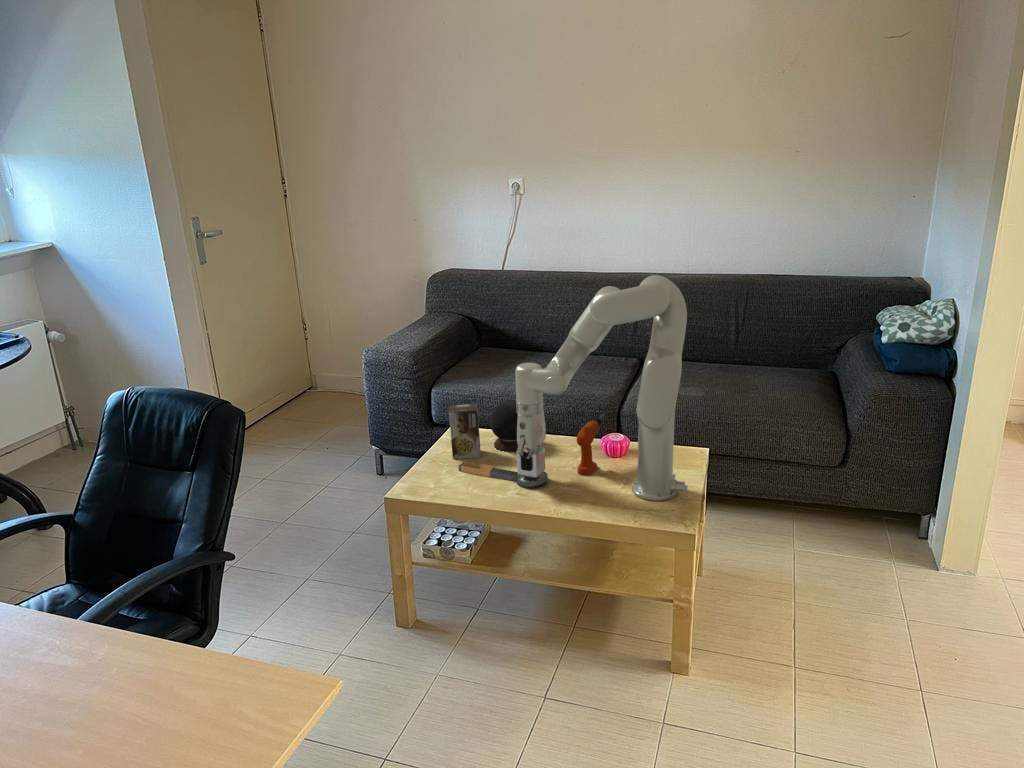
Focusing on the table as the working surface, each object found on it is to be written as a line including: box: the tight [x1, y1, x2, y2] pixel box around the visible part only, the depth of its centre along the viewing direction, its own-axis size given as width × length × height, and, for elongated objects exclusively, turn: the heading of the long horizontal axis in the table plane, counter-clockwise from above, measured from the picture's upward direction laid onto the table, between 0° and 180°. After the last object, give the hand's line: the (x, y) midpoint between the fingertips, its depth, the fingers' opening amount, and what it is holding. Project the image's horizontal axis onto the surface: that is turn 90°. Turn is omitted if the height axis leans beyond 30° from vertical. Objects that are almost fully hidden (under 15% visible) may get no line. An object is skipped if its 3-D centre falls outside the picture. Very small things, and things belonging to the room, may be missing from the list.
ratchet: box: [458, 461, 549, 490], centre depth 215 cm, size 28×9×6 cm, turn 63°
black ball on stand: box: [489, 400, 518, 453], centre depth 236 cm, size 13×13×15 cm
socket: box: [516, 445, 546, 477], centre depth 209 cm, size 6×6×7 cm
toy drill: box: [576, 412, 607, 476], centre depth 219 cm, size 5×19×15 cm, turn 150°
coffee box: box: [448, 403, 482, 460], centre depth 230 cm, size 9×6×16 cm
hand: (531, 464), depth 210 cm, fingers closed on socket, 6 cm apart
